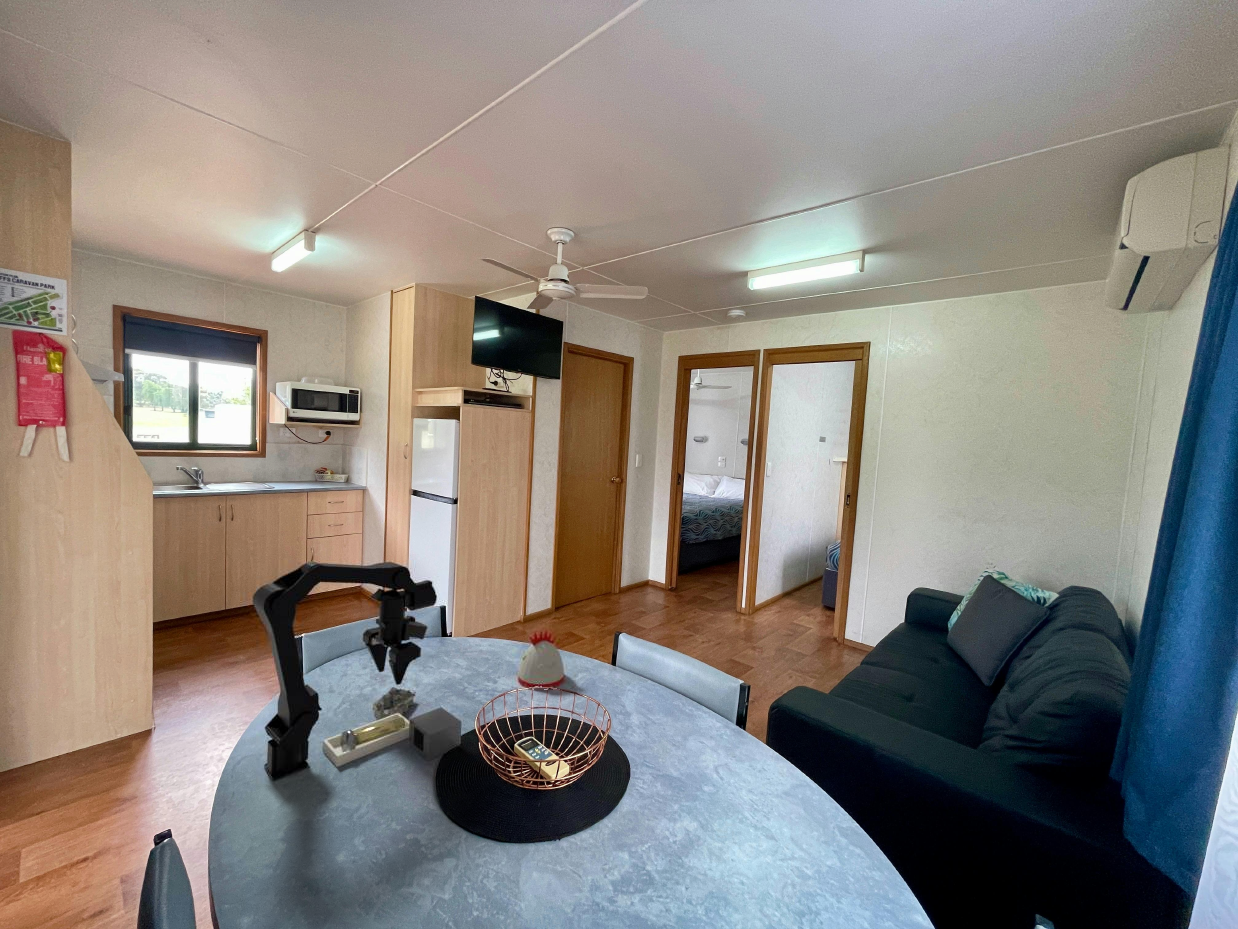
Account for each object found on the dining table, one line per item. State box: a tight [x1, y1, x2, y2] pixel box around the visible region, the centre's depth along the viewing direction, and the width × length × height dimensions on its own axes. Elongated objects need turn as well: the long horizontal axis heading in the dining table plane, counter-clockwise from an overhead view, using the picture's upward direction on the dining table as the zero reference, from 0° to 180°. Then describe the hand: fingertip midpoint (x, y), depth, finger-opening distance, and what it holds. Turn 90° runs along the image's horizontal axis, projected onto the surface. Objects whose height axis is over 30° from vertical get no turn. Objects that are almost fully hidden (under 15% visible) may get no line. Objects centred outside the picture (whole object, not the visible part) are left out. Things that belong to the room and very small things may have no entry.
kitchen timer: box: [517, 629, 565, 688], centre depth 153 cm, size 14×14×15 cm
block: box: [408, 706, 463, 762], centre depth 117 cm, size 8×9×6 cm
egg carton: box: [372, 686, 417, 720], centre depth 132 cm, size 11×8×4 cm
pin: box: [341, 717, 405, 752], centre depth 117 cm, size 13×5×5 cm, turn 141°
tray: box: [322, 713, 410, 768], centre depth 117 cm, size 17×8×2 cm, turn 139°
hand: (389, 677), depth 124 cm, fingers open, 9 cm apart
